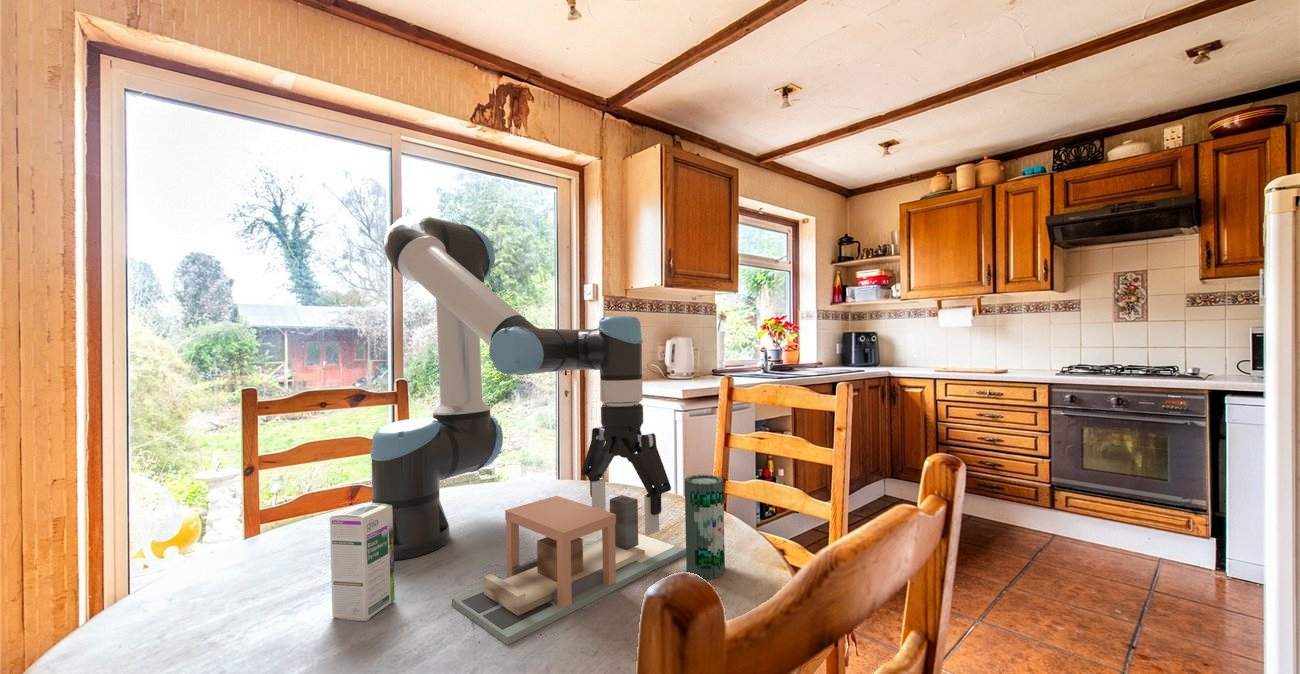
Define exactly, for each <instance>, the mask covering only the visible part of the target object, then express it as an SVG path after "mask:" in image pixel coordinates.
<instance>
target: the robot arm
mask: <svg viewBox="0 0 1300 674" xmlns="http://www.w3.org/2000/svg"><path fill="white" fill-rule="evenodd" d="M383 246H384V253H385V255H386V257H387V260H388V261H389V263H390V264H391V266H392V267H393V268H394V270H396V271H397V272H398V273H399V274H400V275H401V276H403V278H405V279H407V280H408V281H411V282H417V283H418V284H420V285H421V286H422V287H423V288H424V289H425V290H427V292H428V293H430V294H431V295H432V296H433V297H434V298H435V299H436V300H435V302H436V303H435V304H436V305H435V306H436V307H435V308H436V327H437V329H436V331H437V354H438V373H439V378H438V379H439V397H440V398H439V399H440V400H439V401H440V404H439V406H438V407H437V408H436V409H435V410H434V411H433V412H432V417H429V416H426V417H415V418H410V419H403V420H398V421H394V422H391V423H388V424H385V425H383V426H381V427H380V428H378V429H377V430H376V431H375V432H374V434H373V435H372V440H371V450H370V457H371V496H372V497H371V498H372V499H371V500H372V502H371V503H380V504H388V505H392V515H393V554H394V561H397V560H399V561H400V560H404V559H405V560H407V559H410V558H415V557H419V556H423V555H425V554H429V553H433V552H434V551H436V550H439V549H441V548H442V547H443V546H445V545H446V544H447V543H448V542H449V540H450V538H451V536H450V524H449V522H448V519H447V516H446V513H445V510H444V508H443V505H442V502H441V500H440V499H441V498H440V481H444V480H447V479H451V478H454V477H457V476H460V475H465V474H467V473H475V472H477V471H479V470H481V469H483V468H486V467H488V466H490V465H491V464H493V463H494V462H495V460H496V459H497V458H498V457H499V455H500V452H501V451H502V447H503V441H504V440H503V439H504V436H503V435H504V433H503V430H502V426H501V424H499V421H498V419H497V418H495V416H493V415H491V407H490V406H489V405H488V404H486V403H485V402H484V400H483V387H482V386H483V381H482V378H483V377H482V357H481V340H482V341H483V342H484V343H485V344H487V346H489V348H488V349H489V351H488V352H489V358H490V359H491V361H492V365H493V367H494V368H495V369H496V370H497V371H498V372H500V373H501V374H504V375H516V376H527V375H532V374H533V375H534V374H541V373H552V372H554V373H555V372H564V371H567V372H568V371H579V370H580V371H583V370H585V371H586V370H587V371H588V370H589V371H591V370H594V371H599V376H600V378H599V379H600V380H599V383H600V384H599V387H600V389H599V391H600V393H599V395H600V396H599V398H600V402H601V403H603V404H602V405H601V406H600V424H601V426H600V427H594V428H592V429H591V440H590V444H589V447H588V450H587V454H586V456H585V460H584V463H583V466H582V469H581V475H582V476H585V477H586V478H587V480H589V488H590V489H589V490H590V491H589V493H590V494H589V495H590V497H591V507H594V508H598V509H601V510H604V511H607V509H606V507H607V505H606V500H607V499H606V479H604V477H605V476H604V474H605V472H606V471H607V469H608V467H609V465H610V464H611V463H612V461H613V460H614V458H615V457H617V456H619V457H620V458H624V459H627V461H628V462H629V463H631V464H632V466H633V468H634V470H635V472H636V473H637V475H638V477H639V480H640V481H641V483H642V485H643V487H644V488H645V490H646V492H647V494H644V496H643V497H644V498H643V499H644V535H647V536H651V535H654V534H656V533H658V532H660V514H662V494H664V493H667V492H670V491H671V490H672V486H671V483H670V481H669V478H668V477H669V476H668V475H667V472H666V470H665V469H666V468H665V466H664V464H663V460H662V458H661V456H660V452H659V450H658V447H657V438H656V437H657V436H656V434H655V433H653V432H652V433H648V434H643V433H642V429H641V427H642V425H643V424H644V405H643V404H641V403H640V402H642V401H643V400H644V397H643V368H642V367H643V366H642V365H643V357H642V355H643V354H642V352H643V349H642V347H643V346H642V345H643V338H642V325H641V321H640V319H639V318H638V317H635V316H633V315H632V316H630V315H629V316H627V315H626V316H625V315H624V316H623V315H622V316H621V315H618V316H617V315H615V316H613V315H612V316H611V315H610V316H604V317H600V319H599V321H598V326H597V327H598V328H592V329H581V328H579V329H566V328H564V329H562V328H561V329H560V328H558V329H557V328H539V327H537V326H535V325H534V324H533V323H532V322H530V320H528V319H527V318H525V317H524V316H523V315H522V314H521V313H519V312H518V311H517V310H516V309H514V308H513V306H511V305H510V304H508V303H507V302H506V301H505V300H504V299H502V297H500V296H499V295H498V294H496V293H495V292H494V291H493V290H492V289H490V288H489V286H487V285H486V284H485V279H486V278H487V277H489V275H491V273H492V269H494V266H495V261H496V259H495V258H496V257H495V256H496V255H495V250H494V247H493V246H494V245H493V243H492V242H491V240H490V238H489V237H488V235H486V234H485V233H484V232H483V231H482V230H479V229H477V228H474V227H472V226H471V225H467V224H463V223H462V224H461V223H460V224H459V223H455V222H453V221H449V220H448V221H447V220H443V219H440V218H435V217H432V216H429V215H424V214H411V215H406V216H403V217H400V218H399V219H397V220H396V221H395V222H393V224H392V225H391V226H390V227H389V228H388V230H387V231H386V234H385V238H384V242H383ZM480 339H481V340H480Z"/></svg>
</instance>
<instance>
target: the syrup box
mask: <svg viewBox="0 0 1300 674" xmlns="http://www.w3.org/2000/svg"><path fill="white" fill-rule="evenodd" d="M329 531H330V533H329V534H330V535H329V537H330V538H329V539H330V572H331V575H330V576H331V578H330V579H331V580H330V581H331V609H332V611H331V614H332V617H333V618H335V619H340V620H347V621H358V622H359V621H360V622H367V621H369V620H370V619H371V618H372V617H373V616H375V615H376V614H377V613H379V612H380V611H382V610H383V609H385V608H386V607H388V606H389V605H390V604H392V603H394V601H395V599H396V597H395V596H396V595H395V564H394V563H395V560H394V554H393V515H392V505H388V504H380V503H372V502H368V503H359V504H357V506H356V505H355V506H353V507H351V508H349V509H346V510H344V511H342V512H339V513H337V514H334V515H331V516H330V517H329Z"/></svg>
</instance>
